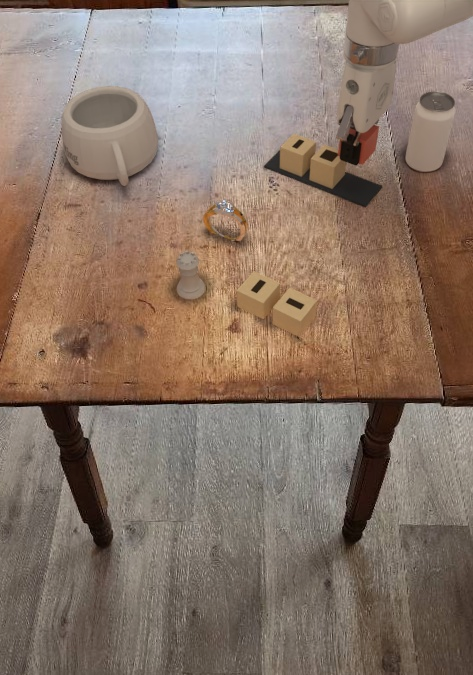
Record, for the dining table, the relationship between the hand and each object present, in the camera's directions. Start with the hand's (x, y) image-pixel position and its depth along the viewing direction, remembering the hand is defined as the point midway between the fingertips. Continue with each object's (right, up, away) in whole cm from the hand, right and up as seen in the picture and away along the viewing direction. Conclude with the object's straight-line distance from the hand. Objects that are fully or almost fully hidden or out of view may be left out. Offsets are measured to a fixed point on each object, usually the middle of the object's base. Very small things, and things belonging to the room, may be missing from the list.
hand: (357, 152), depth 109 cm
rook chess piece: (-26, -24, -8) cm, 36 cm away
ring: (-21, -15, -1) cm, 26 cm away
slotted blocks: (-12, -28, -12) cm, 33 cm away
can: (+13, +1, +10) cm, 17 cm away
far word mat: (-5, -2, +8) cm, 10 cm away
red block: (0, 0, 0) cm, 0 cm away
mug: (-41, +1, +12) cm, 43 cm away
